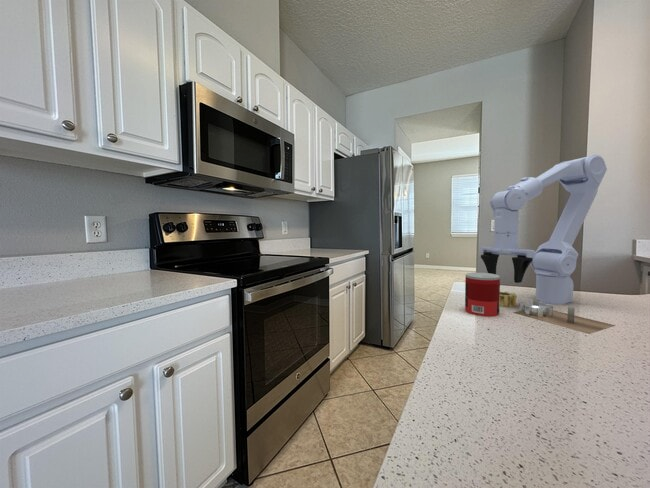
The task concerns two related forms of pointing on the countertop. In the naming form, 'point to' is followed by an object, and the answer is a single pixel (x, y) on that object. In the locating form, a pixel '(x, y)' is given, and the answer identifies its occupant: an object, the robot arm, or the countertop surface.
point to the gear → (536, 309)
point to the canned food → (482, 294)
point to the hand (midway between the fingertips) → (504, 280)
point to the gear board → (571, 320)
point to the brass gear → (507, 299)
